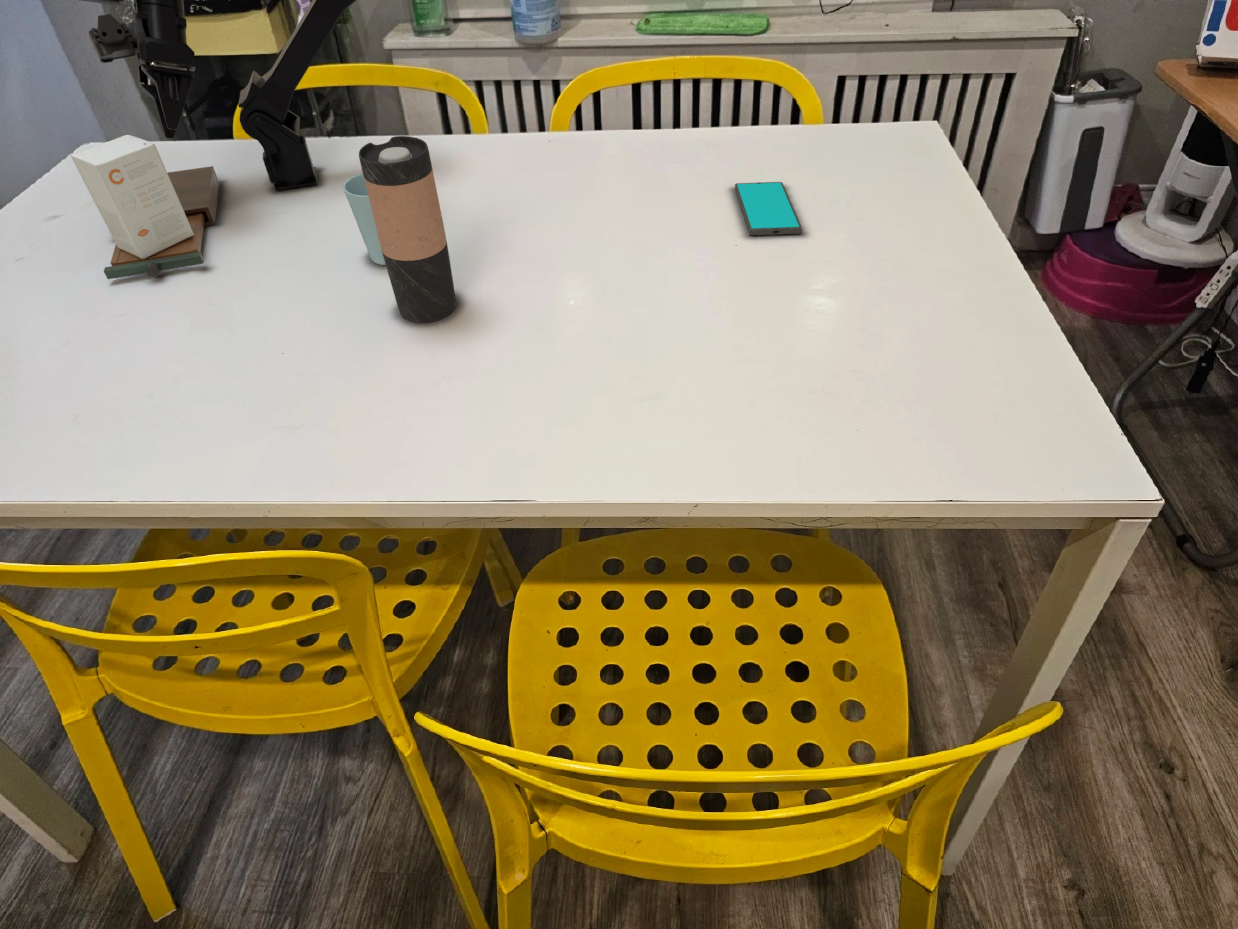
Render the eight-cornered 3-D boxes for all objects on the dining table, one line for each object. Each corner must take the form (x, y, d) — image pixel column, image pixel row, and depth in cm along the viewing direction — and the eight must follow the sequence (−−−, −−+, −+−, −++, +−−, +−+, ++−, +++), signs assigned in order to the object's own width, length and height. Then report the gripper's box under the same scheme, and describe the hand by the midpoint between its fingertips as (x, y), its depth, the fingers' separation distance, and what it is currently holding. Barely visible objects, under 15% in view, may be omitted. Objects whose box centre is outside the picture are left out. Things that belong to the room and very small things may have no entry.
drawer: (203, 269, 107) (198, 258, 106) (107, 285, 104) (101, 274, 103) (209, 218, 117) (205, 208, 116) (122, 232, 115) (117, 221, 114)
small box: (169, 224, 114) (128, 132, 105) (195, 235, 111) (156, 142, 102) (116, 248, 109) (68, 154, 100) (142, 260, 106) (96, 165, 97)
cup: (415, 268, 107) (399, 193, 100) (358, 271, 107) (337, 197, 99) (422, 240, 112) (406, 168, 105) (368, 243, 112) (348, 171, 105)
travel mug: (445, 327, 96) (412, 165, 83) (387, 321, 98) (345, 161, 84) (466, 293, 102) (439, 137, 88) (411, 288, 103) (374, 133, 89)
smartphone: (750, 230, 110) (734, 183, 121) (749, 235, 111) (734, 188, 122) (802, 228, 110) (782, 181, 121) (801, 233, 111) (782, 186, 122)
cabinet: (215, 224, 117) (207, 206, 115) (118, 239, 115) (109, 221, 113) (219, 182, 128) (212, 165, 126) (131, 195, 125) (123, 178, 123)
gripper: (92, 16, 111) (104, 135, 114) (85, -25, 95) (99, 115, 99) (182, 32, 116) (191, 145, 120) (190, -4, 101) (200, 126, 104)
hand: (170, 133), depth 111 cm, fingers open, 9 cm apart
